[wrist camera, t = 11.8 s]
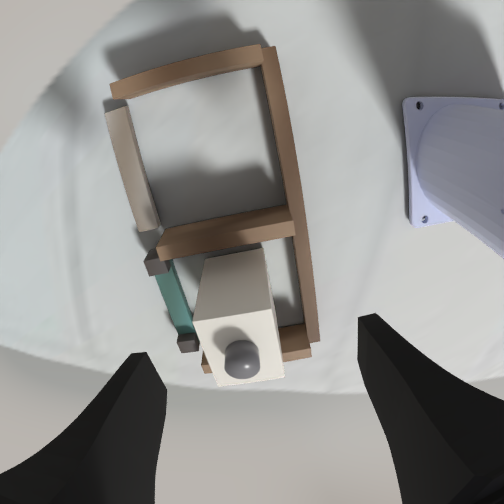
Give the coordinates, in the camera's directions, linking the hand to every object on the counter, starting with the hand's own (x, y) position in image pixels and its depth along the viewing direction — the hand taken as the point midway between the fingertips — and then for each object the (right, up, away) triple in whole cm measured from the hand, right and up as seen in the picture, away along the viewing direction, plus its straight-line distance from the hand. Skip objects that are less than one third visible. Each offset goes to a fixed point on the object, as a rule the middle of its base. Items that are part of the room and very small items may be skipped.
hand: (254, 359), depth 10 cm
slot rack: (-2, +5, +8) cm, 10 cm away
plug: (-1, +1, +10) cm, 10 cm away
